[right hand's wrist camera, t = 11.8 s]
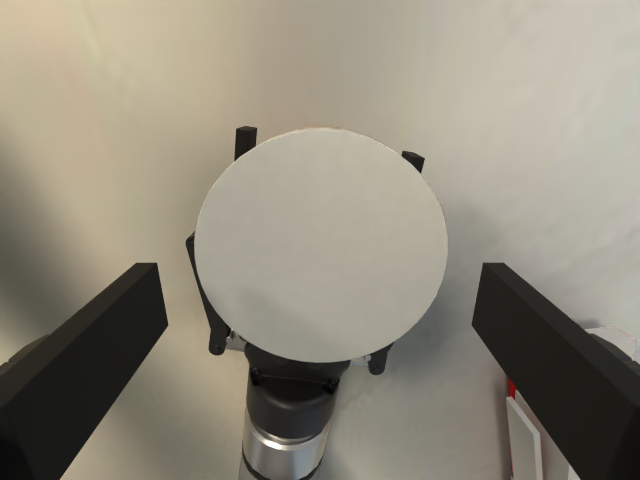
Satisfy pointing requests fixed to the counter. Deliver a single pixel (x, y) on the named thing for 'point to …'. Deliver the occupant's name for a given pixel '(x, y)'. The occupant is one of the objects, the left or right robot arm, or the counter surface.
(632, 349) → the toy
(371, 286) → the lid
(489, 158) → the counter surface
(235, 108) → the counter surface
